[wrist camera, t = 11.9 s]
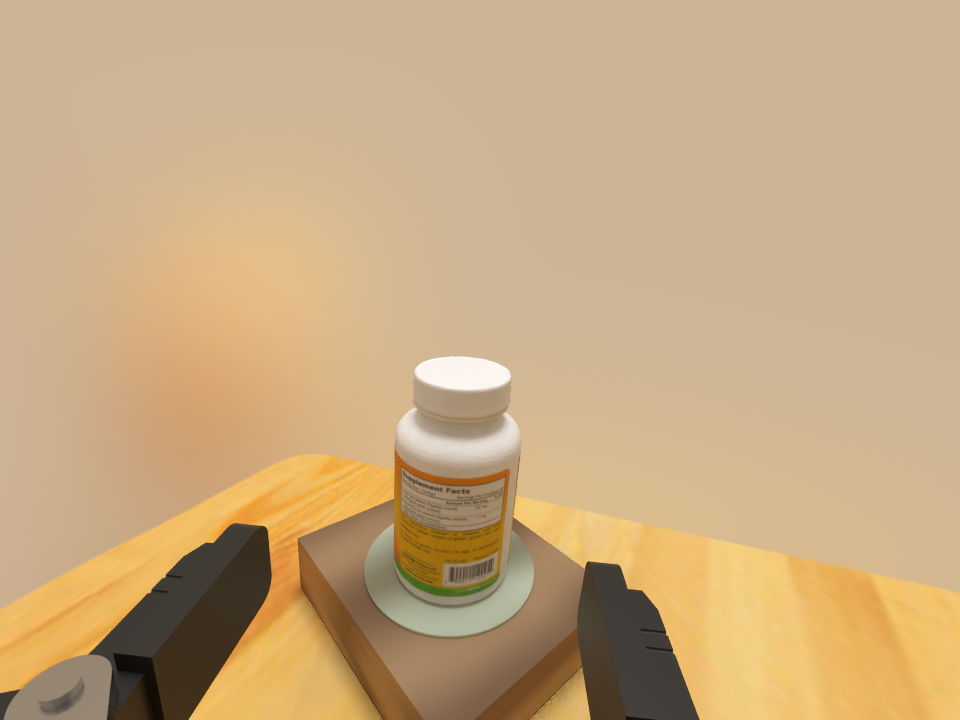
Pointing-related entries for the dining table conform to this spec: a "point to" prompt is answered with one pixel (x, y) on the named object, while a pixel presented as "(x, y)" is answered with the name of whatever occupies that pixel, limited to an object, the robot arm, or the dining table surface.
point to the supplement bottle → (455, 481)
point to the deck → (445, 625)
